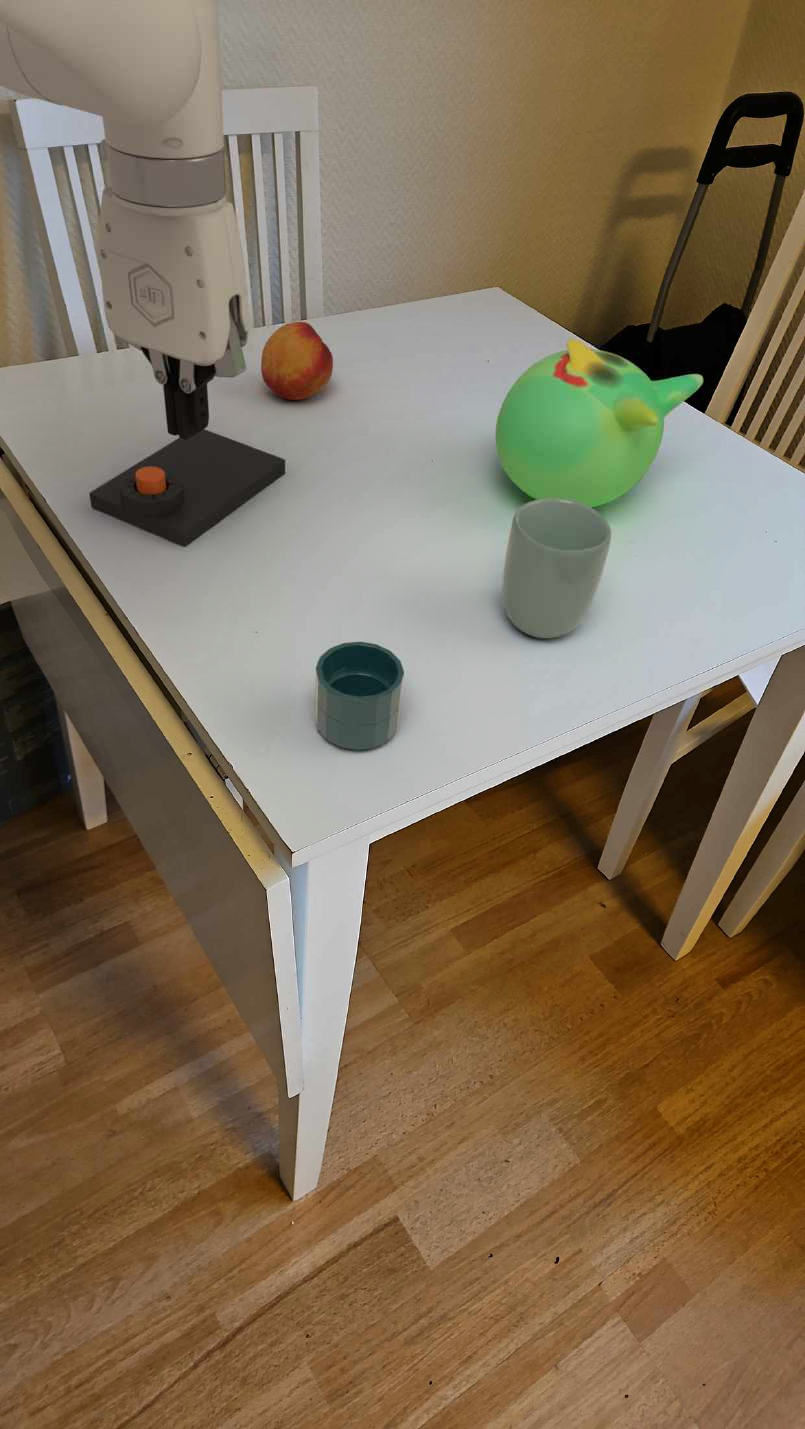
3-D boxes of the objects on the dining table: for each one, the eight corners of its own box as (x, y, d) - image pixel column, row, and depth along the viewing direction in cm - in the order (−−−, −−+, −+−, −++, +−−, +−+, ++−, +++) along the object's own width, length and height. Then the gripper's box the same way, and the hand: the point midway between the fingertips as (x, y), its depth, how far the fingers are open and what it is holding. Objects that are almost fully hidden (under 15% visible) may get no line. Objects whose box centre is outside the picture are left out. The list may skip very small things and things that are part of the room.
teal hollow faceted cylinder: (322, 758, 69) (324, 703, 65) (309, 699, 73) (310, 645, 70) (405, 749, 70) (411, 695, 67) (388, 692, 75) (393, 638, 71)
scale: (183, 548, 86) (180, 518, 84) (89, 508, 90) (84, 478, 87) (285, 473, 97) (285, 444, 94) (198, 440, 100) (196, 411, 98)
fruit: (336, 412, 107) (338, 341, 101) (263, 412, 106) (261, 340, 100) (329, 380, 112) (331, 311, 107) (260, 379, 111) (258, 310, 105)
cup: (553, 587, 86) (576, 490, 79) (602, 639, 82) (631, 540, 75) (479, 605, 84) (496, 506, 77) (525, 660, 79) (547, 560, 72)
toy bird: (529, 433, 107) (554, 300, 96) (674, 480, 102) (716, 345, 92) (459, 505, 95) (479, 362, 85) (619, 562, 90) (661, 417, 80)
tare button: (153, 499, 86) (151, 484, 85) (131, 490, 87) (129, 475, 86) (172, 487, 88) (170, 472, 87) (150, 478, 89) (148, 463, 88)
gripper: (40, 162, 63) (82, 421, 76) (226, 214, 59) (238, 479, 71) (117, 141, 68) (144, 387, 81) (294, 187, 63) (294, 440, 76)
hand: (188, 430), depth 76 cm, fingers closed
